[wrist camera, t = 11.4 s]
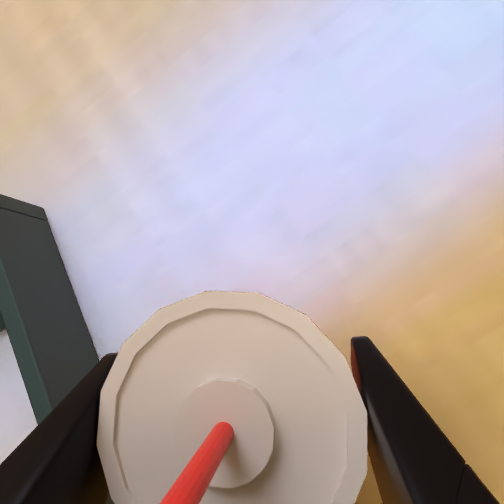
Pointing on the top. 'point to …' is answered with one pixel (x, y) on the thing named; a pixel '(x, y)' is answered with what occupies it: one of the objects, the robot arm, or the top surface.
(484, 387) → the top surface
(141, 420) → the beverage cup
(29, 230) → the crate
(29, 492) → the robot arm
